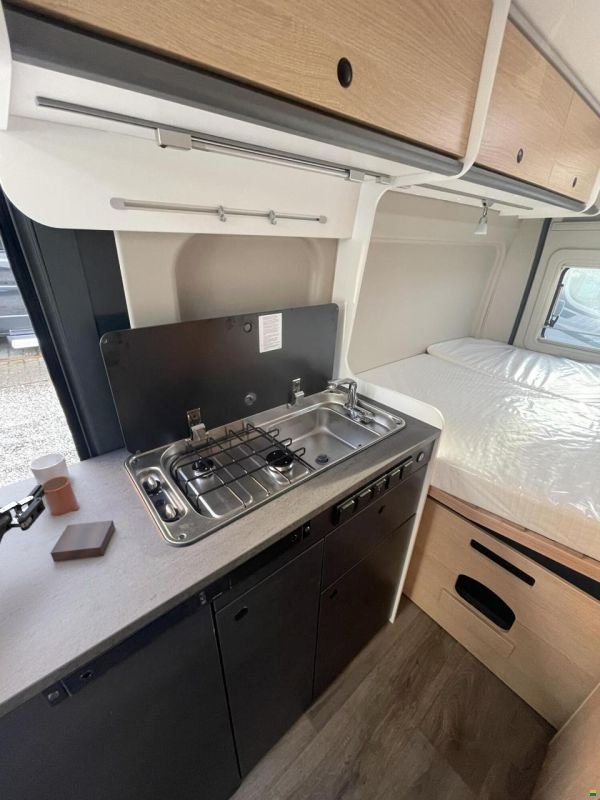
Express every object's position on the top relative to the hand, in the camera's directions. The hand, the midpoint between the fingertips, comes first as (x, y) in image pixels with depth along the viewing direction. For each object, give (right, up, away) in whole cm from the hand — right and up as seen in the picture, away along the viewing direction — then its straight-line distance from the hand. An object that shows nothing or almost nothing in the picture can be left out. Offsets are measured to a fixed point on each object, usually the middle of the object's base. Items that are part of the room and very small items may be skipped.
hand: (17, 490), depth 66 cm
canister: (-5, -11, +21) cm, 24 cm away
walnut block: (+8, -16, +10) cm, 21 cm away
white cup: (-13, -8, +29) cm, 33 cm away
